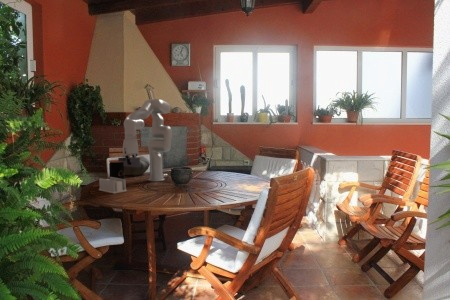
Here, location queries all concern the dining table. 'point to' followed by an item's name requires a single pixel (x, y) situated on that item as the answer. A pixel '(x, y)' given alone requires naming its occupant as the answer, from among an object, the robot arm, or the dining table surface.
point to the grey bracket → (134, 161)
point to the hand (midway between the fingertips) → (131, 164)
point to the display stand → (112, 185)
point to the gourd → (137, 170)
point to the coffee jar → (116, 169)
